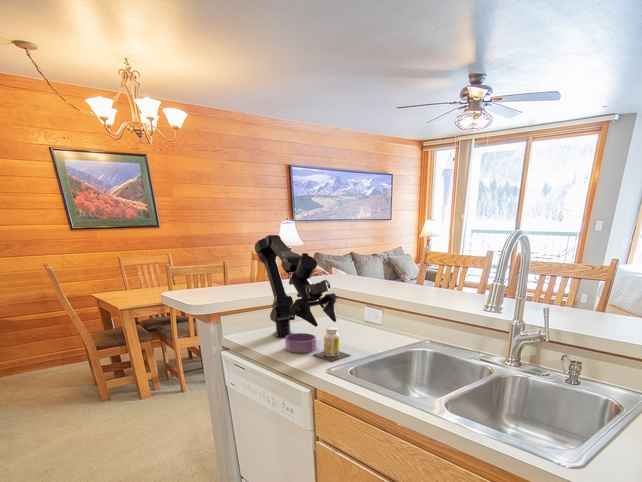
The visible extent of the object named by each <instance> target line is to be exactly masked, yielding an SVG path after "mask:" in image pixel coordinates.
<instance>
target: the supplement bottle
mask: <svg viewBox="0 0 642 482" xmlns="http://www.w3.org/2000/svg"><path fill="white" fill-rule="evenodd" d="M323 352H324V355H326V356H329V357H334V356H337V355H338V354H339V352H340V335H339V333H338V327H336V326H327V327H326V328H325V333H324V335H323Z"/></svg>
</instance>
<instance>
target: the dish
mask: <svg viewBox="0 0 642 482" xmlns="http://www.w3.org/2000/svg"><path fill="white" fill-rule="evenodd" d="M284 347H285V348H284V349H285V350H286V351H288V352H291V353H295V354H305V353H310V352H313V351H316V349H317V336H316V335H314V334H312V333H306V332H296V333H295V332H294V333H292V334H290V335H287V336H286V337H284Z"/></svg>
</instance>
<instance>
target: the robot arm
mask: <svg viewBox="0 0 642 482" xmlns="http://www.w3.org/2000/svg"><path fill="white" fill-rule="evenodd" d="M254 251H255V254H256V255H257V258H258V260H259V261H260V262H261V263H262V264H263V265H264V267H265V271H266V274H267V278H268V281H269V284H270V288H271V292H272V295H273V302H272V309H271V311H270V314H269V317H270V321H271V322H273V323H275V331H274V332H273V333H274V335H275V337H276V338H285V337H286V336H287V335H290V334H293V333H292V332H291V321H295V320H296V317H297V318H298V317H299V318H301V319H302V320H304V321H306V322H307V323H309V324H310V325H312V326H313V327H315V328H316V327H318V326H319V324H318V321H317V319H316V318H315V316H314V314H313V312H312V310H311V308H312V307H318V306H320V308H322V312H324V313H325V314H326V315H327V317H328V318H329V319H330V320H331V321H332V322H333V323H336V322H337V316H336V311H335V303H336V302H337V300H338V296H337V295H336V293H334V292H331V293H330V292H329V290H330V289H331V283H330V282H329V280H328V279H323V280H321V281H320V282H319V281H318V282H316V283H312V282H311V280H310V279H311V278H312V276H313V274H314V273H315V270H316V269H317V266H318V261H317V260H316V259H315V258H314V257H313V256H311V255H309V253H308V252H302V253H301V254H299V253H298V252H295V251H292V250H291V249H290V248H289V247H288V246H287V244H286V243H285V242H284V241H283V240H282V237H281V236H280V235H278V234H267V235H266V236H265V237H263V238H261V239H259V240H257V242H256V243H254ZM277 258H279V259H280V261H281V268H282V270H283V271H284V273H286V274H291V276H289V280H288V285H289V286H291V285H293V287H294V289H295V291H296V292H297V294H296V296H297V298H296V299H295V300H293V297H292V296H291V295H288V294H287V292H286V291H285V286H284V283H283V279H282V275H281V272H280V269H279V265H278V262H277ZM325 292H329V293H326V294H325V295H324V293H325Z"/></svg>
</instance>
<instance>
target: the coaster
mask: <svg viewBox="0 0 642 482" xmlns="http://www.w3.org/2000/svg"><path fill="white" fill-rule="evenodd" d="M313 356H314V357H317V358H320V359H324V360H326V361H330V362H335V361H337V360H340V359H344V358H347V357H349V356H350V354H348V353H345V352H343V351H339V354H338V355H337V356H334V357H329V356H326V355H324V351H321V352H318V353H315V354H313Z"/></svg>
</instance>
